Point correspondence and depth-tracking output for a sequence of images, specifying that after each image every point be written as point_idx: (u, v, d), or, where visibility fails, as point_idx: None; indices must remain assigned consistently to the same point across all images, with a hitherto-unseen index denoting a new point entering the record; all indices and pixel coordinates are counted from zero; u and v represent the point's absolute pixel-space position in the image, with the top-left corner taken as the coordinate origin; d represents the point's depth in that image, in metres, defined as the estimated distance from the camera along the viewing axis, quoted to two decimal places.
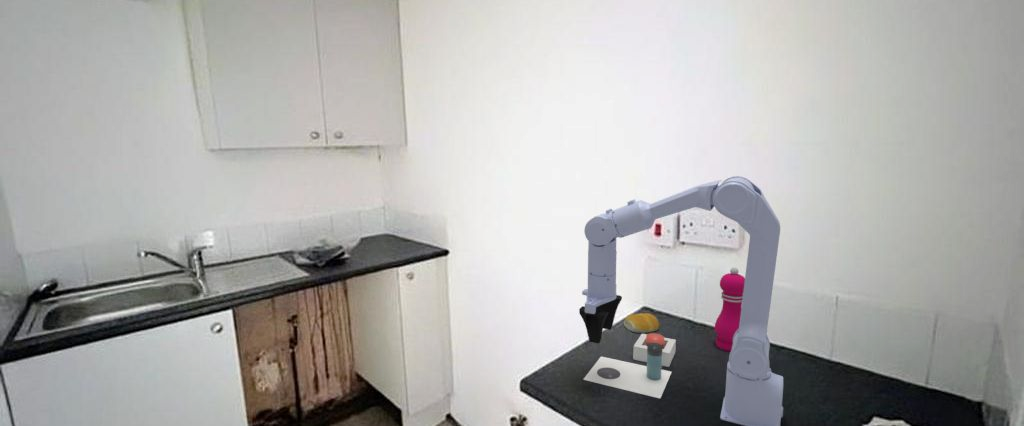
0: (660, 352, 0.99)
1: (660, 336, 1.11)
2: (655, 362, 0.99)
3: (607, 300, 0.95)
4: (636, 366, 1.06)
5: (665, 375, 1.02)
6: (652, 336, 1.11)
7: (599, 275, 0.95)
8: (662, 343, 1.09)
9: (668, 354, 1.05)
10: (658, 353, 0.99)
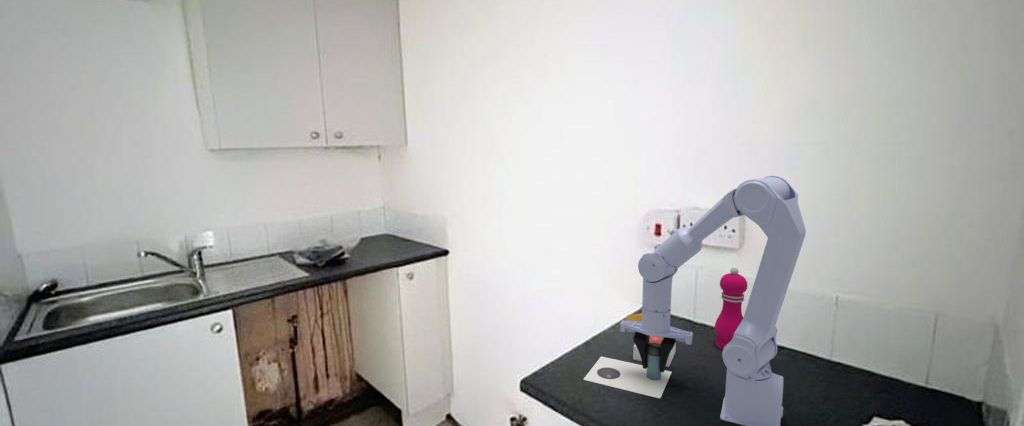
0: (660, 352, 0.99)
1: None
2: (655, 362, 0.99)
3: (639, 330, 0.99)
4: (636, 366, 1.06)
5: (665, 375, 1.02)
6: (652, 336, 1.11)
7: (642, 305, 1.00)
8: None
9: None
10: (658, 353, 0.99)
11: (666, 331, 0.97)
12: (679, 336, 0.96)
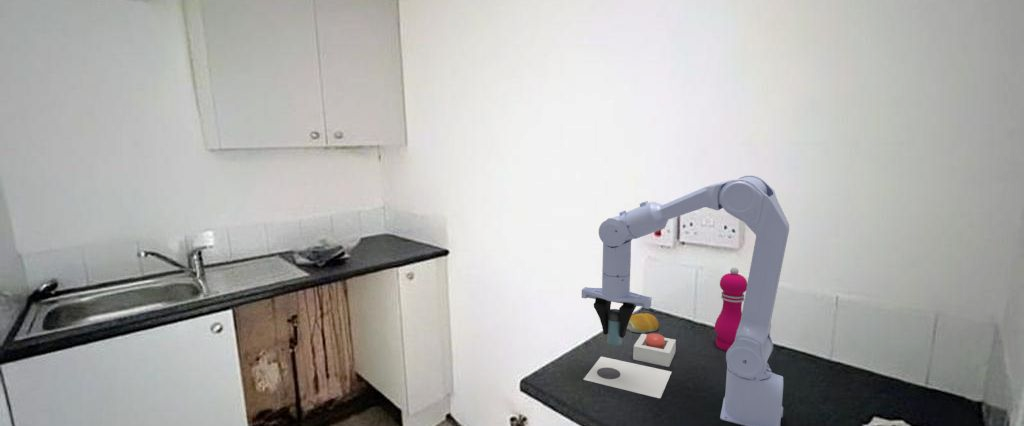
0: None
1: (660, 336, 1.11)
2: (615, 328, 1.00)
3: (599, 295, 1.00)
4: (636, 366, 1.06)
5: (665, 375, 1.02)
6: (652, 336, 1.11)
7: None
8: (662, 343, 1.09)
9: (668, 354, 1.05)
10: (618, 318, 0.99)
11: (625, 296, 0.98)
12: (637, 300, 0.97)
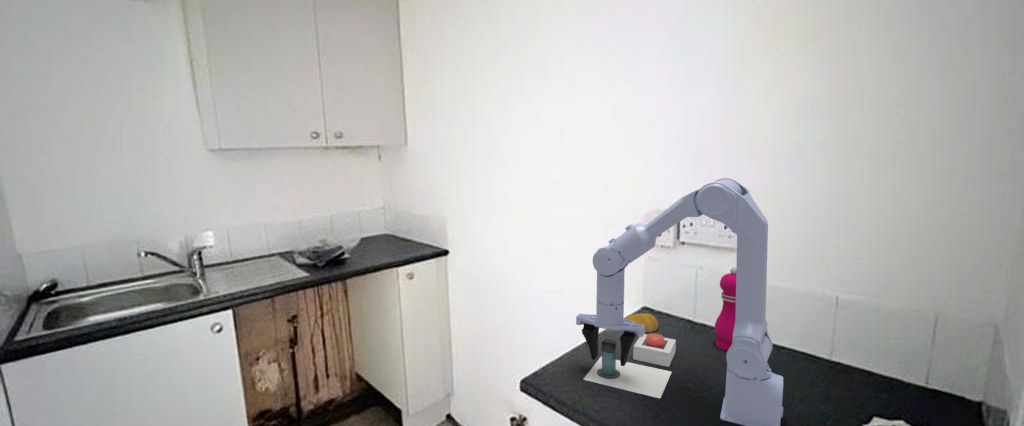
0: (613, 349, 1.01)
1: (660, 336, 1.11)
2: (608, 359, 1.01)
3: (593, 323, 1.01)
4: (636, 366, 1.06)
5: (665, 375, 1.02)
6: (652, 336, 1.11)
7: None
8: (662, 343, 1.09)
9: (668, 354, 1.05)
10: (611, 349, 1.01)
11: (619, 324, 0.99)
12: (631, 328, 0.98)
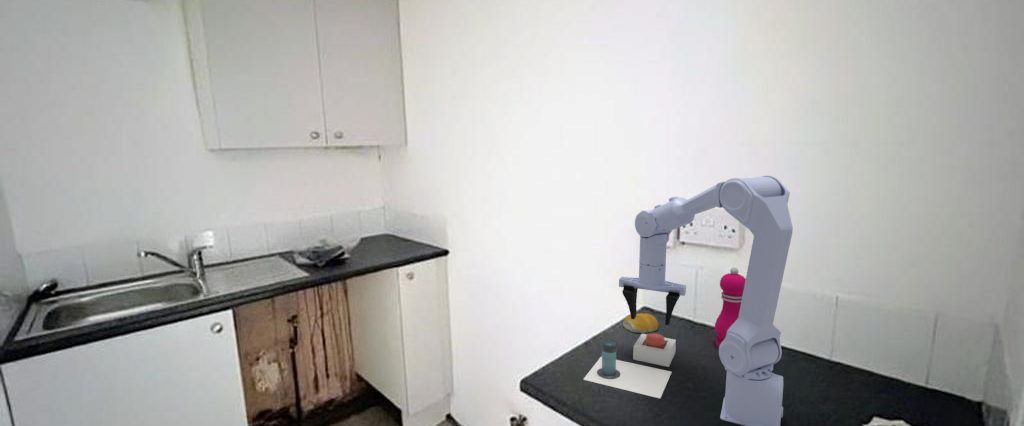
0: (614, 349, 1.01)
1: (660, 336, 1.11)
2: (609, 359, 1.01)
3: (636, 284, 1.07)
4: (636, 366, 1.06)
5: (665, 375, 1.02)
6: (652, 336, 1.11)
7: None
8: (662, 343, 1.09)
9: (668, 354, 1.05)
10: (612, 349, 1.01)
11: (661, 284, 1.05)
12: (673, 288, 1.04)
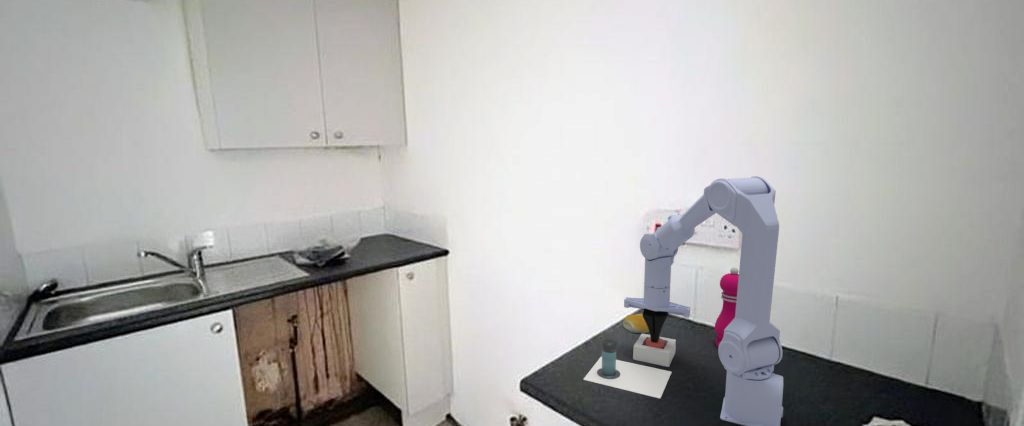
0: (614, 349, 1.01)
1: (660, 340, 1.11)
2: (609, 359, 1.01)
3: (641, 305, 1.09)
4: (636, 366, 1.06)
5: (665, 375, 1.02)
6: None
7: (644, 282, 1.09)
8: (662, 347, 1.09)
9: (668, 354, 1.05)
10: (612, 349, 1.01)
11: (666, 306, 1.07)
12: (678, 310, 1.06)
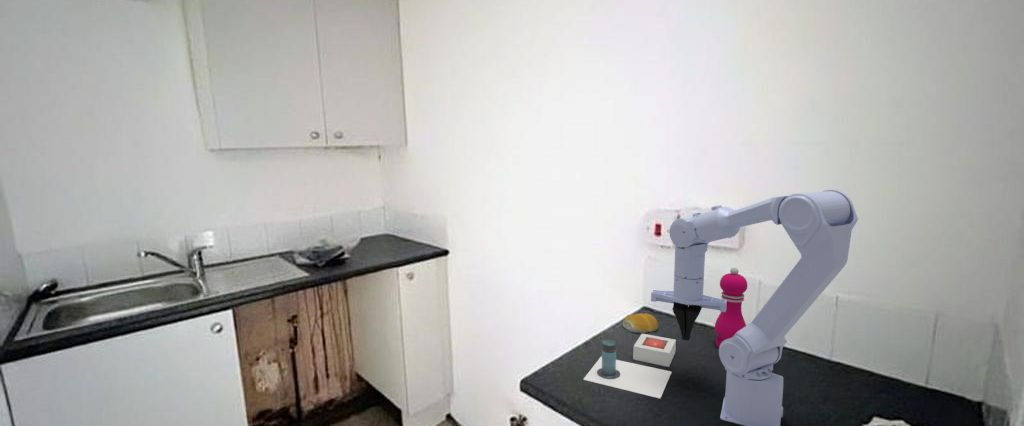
0: (614, 349, 1.01)
1: (660, 341, 1.11)
2: (609, 359, 1.01)
3: (671, 298, 0.97)
4: (636, 366, 1.06)
5: (665, 375, 1.02)
6: (652, 341, 1.11)
7: (674, 273, 0.98)
8: (662, 348, 1.09)
9: (668, 354, 1.05)
10: (612, 349, 1.01)
11: (699, 299, 0.95)
12: (713, 303, 0.94)
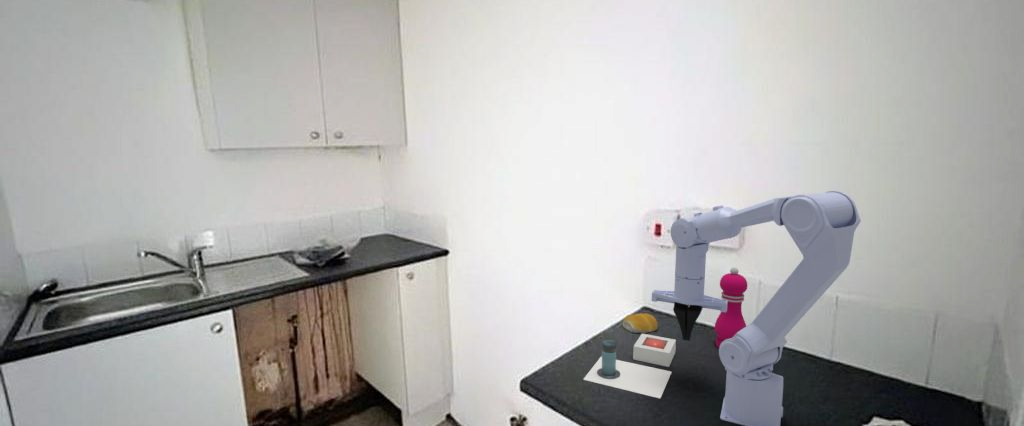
0: (614, 349, 1.01)
1: (660, 341, 1.11)
2: (609, 359, 1.01)
3: (672, 298, 0.97)
4: (636, 366, 1.06)
5: (665, 375, 1.02)
6: (652, 341, 1.11)
7: (675, 273, 0.98)
8: (662, 348, 1.09)
9: (668, 354, 1.05)
10: (612, 349, 1.01)
11: (700, 299, 0.95)
12: (714, 303, 0.94)
